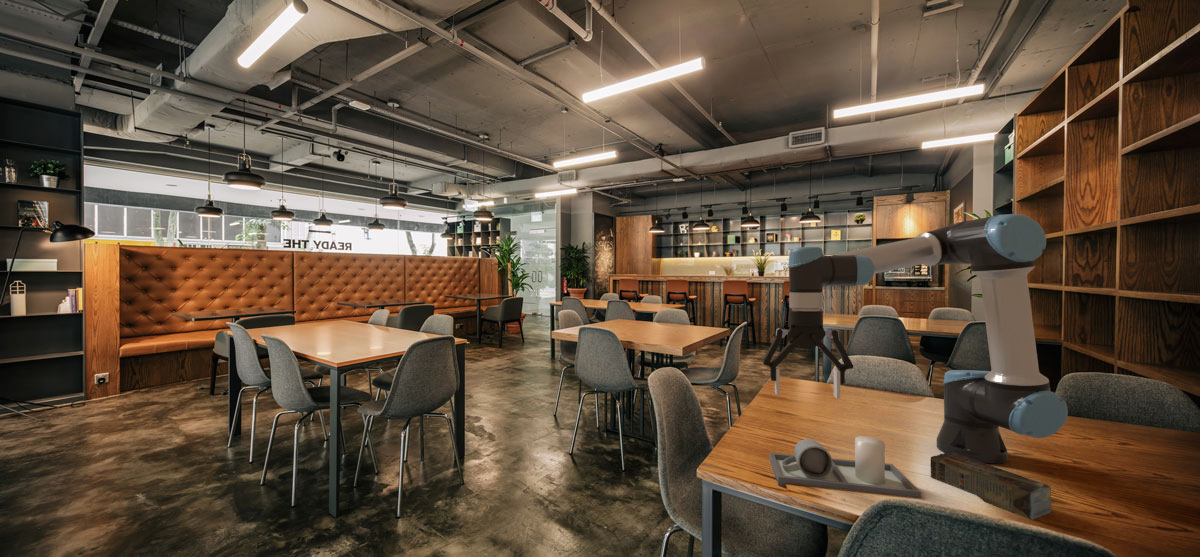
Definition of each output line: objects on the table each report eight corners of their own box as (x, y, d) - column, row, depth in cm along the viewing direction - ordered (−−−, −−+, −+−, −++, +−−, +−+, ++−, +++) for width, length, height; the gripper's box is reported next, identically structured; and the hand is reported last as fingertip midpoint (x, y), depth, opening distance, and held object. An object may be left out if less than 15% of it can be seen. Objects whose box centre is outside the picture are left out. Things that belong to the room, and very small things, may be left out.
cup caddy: (892, 472, 108) (892, 464, 108) (920, 501, 94) (920, 492, 94) (769, 459, 115) (769, 452, 115) (778, 485, 101) (778, 477, 101)
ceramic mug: (823, 466, 109) (822, 436, 109) (833, 481, 101) (832, 448, 101) (779, 463, 111) (778, 433, 112) (785, 477, 103) (784, 445, 104)
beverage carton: (1031, 522, 86) (1031, 489, 86) (928, 481, 104) (927, 453, 104) (1053, 514, 89) (1052, 482, 89) (948, 475, 107) (948, 449, 107)
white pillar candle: (879, 474, 105) (878, 437, 105) (889, 485, 99) (888, 446, 99) (851, 471, 106) (851, 435, 106) (860, 482, 101) (859, 444, 101)
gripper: (856, 309, 107) (857, 394, 107) (751, 308, 113) (752, 389, 113) (867, 311, 100) (868, 402, 100) (754, 310, 106) (755, 396, 106)
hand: (806, 395), depth 106 cm, fingers open, 13 cm apart
